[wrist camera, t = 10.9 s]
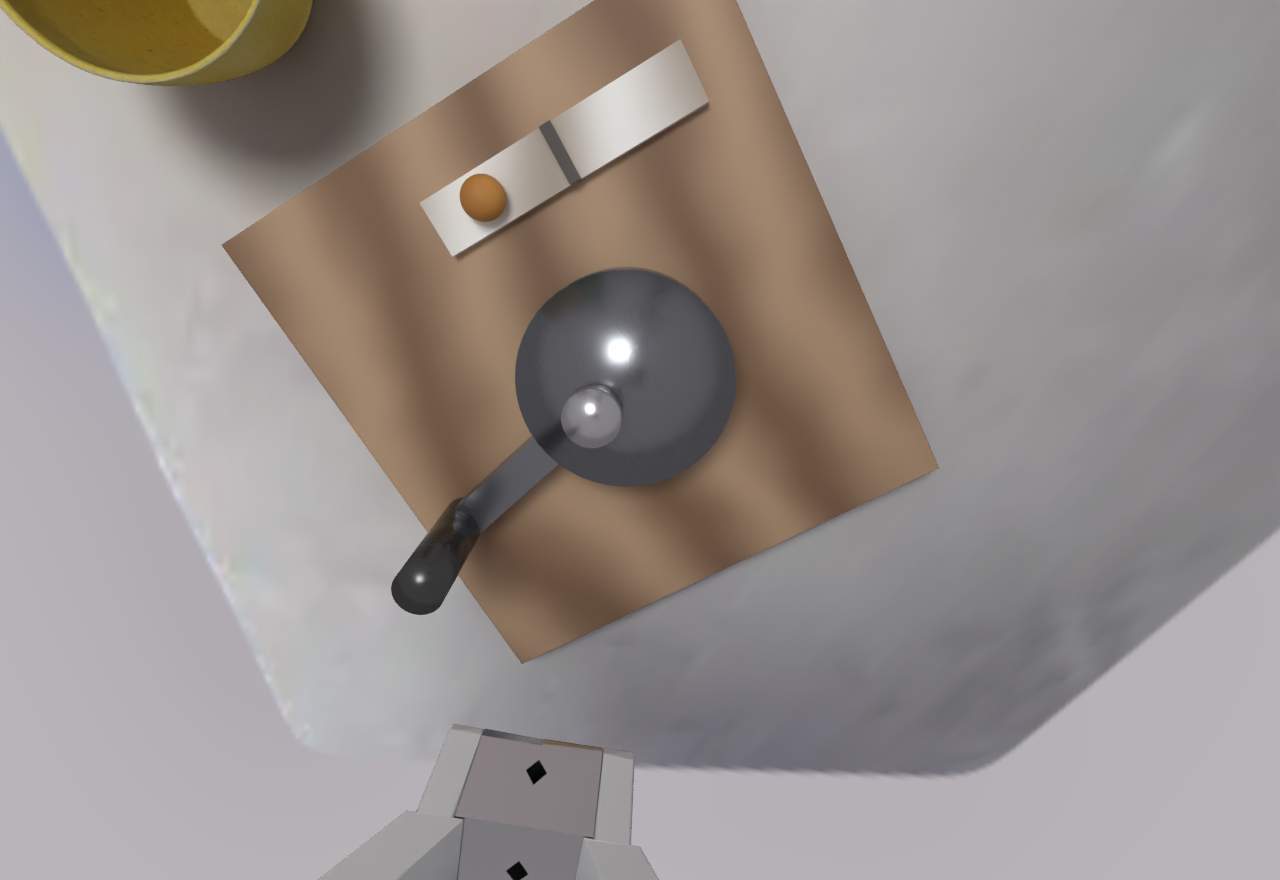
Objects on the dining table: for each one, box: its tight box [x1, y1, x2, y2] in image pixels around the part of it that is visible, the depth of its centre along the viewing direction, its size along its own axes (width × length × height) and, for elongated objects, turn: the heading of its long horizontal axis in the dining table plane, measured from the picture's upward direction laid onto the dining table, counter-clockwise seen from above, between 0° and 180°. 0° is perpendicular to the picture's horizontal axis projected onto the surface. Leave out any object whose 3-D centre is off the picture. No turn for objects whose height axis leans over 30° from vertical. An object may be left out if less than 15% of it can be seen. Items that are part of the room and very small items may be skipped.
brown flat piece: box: [222, 0, 939, 664], centre depth 28 cm, size 23×24×4 cm
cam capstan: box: [391, 267, 736, 615], centre depth 26 cm, size 16×9×7 cm, turn 132°
